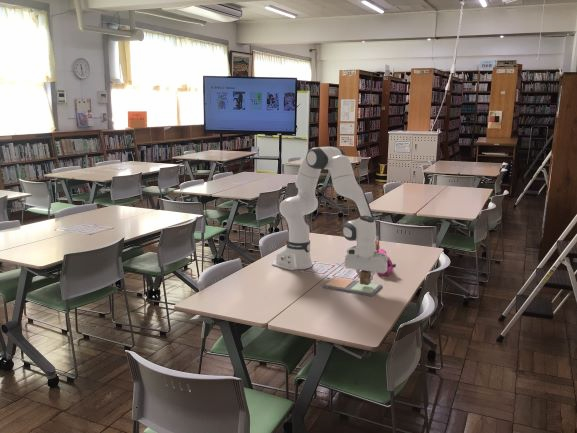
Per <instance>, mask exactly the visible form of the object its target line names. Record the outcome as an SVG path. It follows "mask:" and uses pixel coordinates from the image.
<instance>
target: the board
mask: <svg viewBox="0 0 577 433" xmlns="http://www.w3.org/2000/svg"><path fill="white" fill-rule="evenodd" d="M322 288H324V289H330V290H333V291H334V290H335V291H341V292H346V293H352V294H357V295H363V296H367V297H368V296H369V297H373V296H374V295H375V294H376V293H377V292H379V291H380V289H381V288H383V285H382V284H379V283H373V282H371V283H370V284H369V285H364V284H360V280H354V279H349V278H343V277H338V276H337V277H336V276H334V277H333V278H331V279H330V280H328V281H326V283H324V284H323V285H322Z"/></svg>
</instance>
